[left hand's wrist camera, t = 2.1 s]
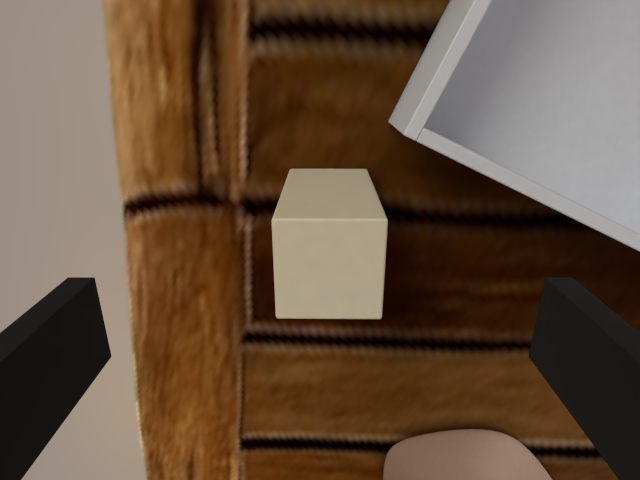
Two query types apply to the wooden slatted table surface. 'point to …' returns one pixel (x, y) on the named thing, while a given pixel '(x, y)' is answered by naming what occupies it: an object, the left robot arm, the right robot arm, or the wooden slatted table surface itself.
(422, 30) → the wooden slatted table surface
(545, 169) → the tray
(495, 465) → the anatomical model
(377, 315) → the block
